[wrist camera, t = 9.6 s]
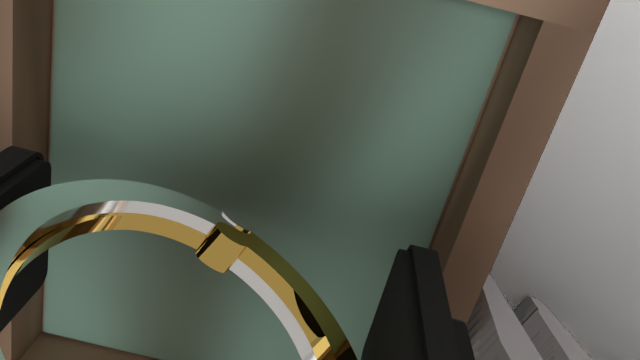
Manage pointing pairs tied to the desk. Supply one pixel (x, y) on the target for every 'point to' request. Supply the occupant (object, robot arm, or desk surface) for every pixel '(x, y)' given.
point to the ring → (181, 225)
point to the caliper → (518, 330)
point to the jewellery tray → (278, 152)
